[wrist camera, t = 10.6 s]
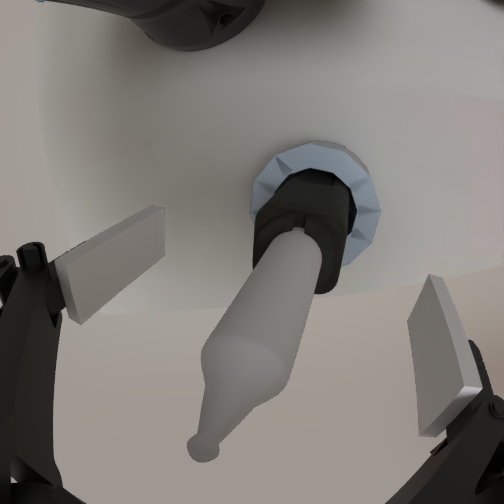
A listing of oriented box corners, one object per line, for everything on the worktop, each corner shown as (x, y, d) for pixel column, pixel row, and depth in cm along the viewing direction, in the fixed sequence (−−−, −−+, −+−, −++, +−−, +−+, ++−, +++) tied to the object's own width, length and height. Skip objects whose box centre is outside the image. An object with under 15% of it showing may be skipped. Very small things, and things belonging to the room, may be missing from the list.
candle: (292, 215, 29) (137, 456, 8) (296, 164, 27) (83, 362, 5) (343, 224, 28) (282, 509, 6) (351, 173, 25) (321, 450, 4)
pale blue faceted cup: (268, 225, 32) (244, 252, 26) (281, 132, 28) (259, 135, 21) (358, 247, 30) (358, 282, 23) (381, 154, 25) (392, 163, 19)
